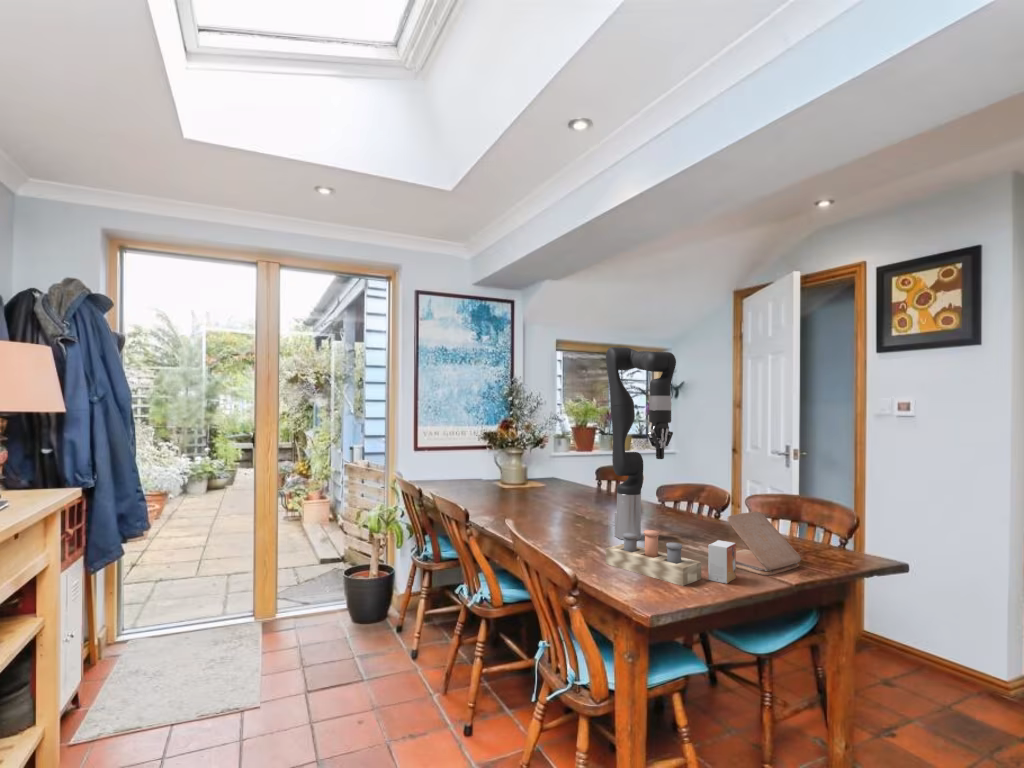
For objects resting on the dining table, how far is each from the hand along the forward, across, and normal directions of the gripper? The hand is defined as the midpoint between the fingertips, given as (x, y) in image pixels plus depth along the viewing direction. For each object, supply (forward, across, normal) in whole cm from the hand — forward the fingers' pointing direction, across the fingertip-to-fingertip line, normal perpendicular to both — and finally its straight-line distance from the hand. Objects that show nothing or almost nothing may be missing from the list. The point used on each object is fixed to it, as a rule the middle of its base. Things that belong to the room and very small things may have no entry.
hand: (659, 458), depth 191 cm
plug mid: (+31, +18, +9) cm, 37 cm away
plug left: (+33, +18, +1) cm, 38 cm away
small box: (+33, +8, +27) cm, 44 cm away
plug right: (+33, +18, +17) cm, 41 cm away
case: (+34, -16, +26) cm, 45 cm away
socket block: (+33, +18, +9) cm, 39 cm away
